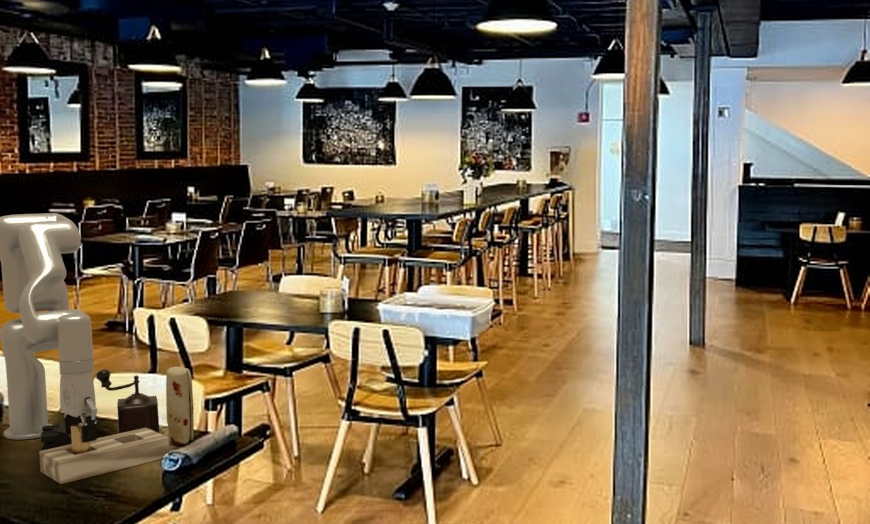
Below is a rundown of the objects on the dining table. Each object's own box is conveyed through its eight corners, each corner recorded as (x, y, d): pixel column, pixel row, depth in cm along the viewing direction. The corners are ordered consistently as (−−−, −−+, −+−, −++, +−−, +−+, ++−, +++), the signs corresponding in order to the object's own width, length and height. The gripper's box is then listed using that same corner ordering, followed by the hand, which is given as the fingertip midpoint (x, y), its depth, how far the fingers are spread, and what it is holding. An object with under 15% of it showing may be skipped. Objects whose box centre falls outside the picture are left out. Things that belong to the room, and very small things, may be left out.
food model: (164, 439, 243) (161, 365, 241) (189, 435, 246) (186, 362, 244) (171, 449, 234) (168, 372, 232) (197, 445, 237) (194, 369, 235)
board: (40, 471, 218) (39, 451, 218) (146, 446, 237) (146, 427, 236) (60, 484, 210) (59, 462, 209) (169, 456, 228) (168, 437, 228)
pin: (70, 470, 219) (68, 425, 218) (86, 466, 222) (84, 421, 221) (77, 474, 216) (74, 428, 215) (94, 470, 219) (91, 425, 218)
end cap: (72, 456, 230) (71, 430, 229) (41, 460, 227) (40, 433, 227) (73, 445, 239) (72, 419, 238) (44, 448, 237) (42, 422, 236)
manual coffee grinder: (158, 427, 254) (155, 363, 252) (160, 439, 244) (157, 372, 242) (98, 433, 249) (95, 368, 247) (98, 445, 239) (94, 377, 237)
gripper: (46, 363, 220) (50, 433, 222) (76, 374, 208) (80, 448, 209) (77, 359, 225) (81, 427, 227) (108, 368, 213) (112, 441, 214)
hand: (81, 437), depth 218 cm, fingers open, 9 cm apart
